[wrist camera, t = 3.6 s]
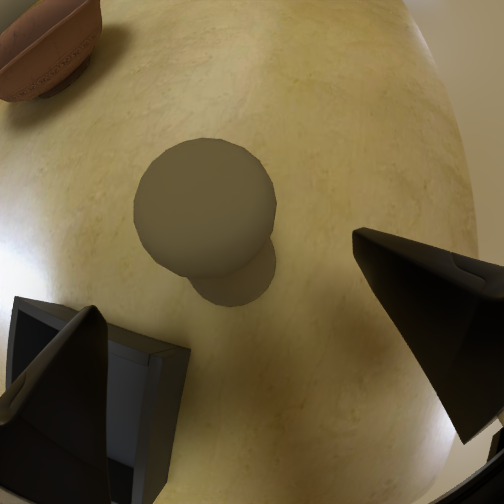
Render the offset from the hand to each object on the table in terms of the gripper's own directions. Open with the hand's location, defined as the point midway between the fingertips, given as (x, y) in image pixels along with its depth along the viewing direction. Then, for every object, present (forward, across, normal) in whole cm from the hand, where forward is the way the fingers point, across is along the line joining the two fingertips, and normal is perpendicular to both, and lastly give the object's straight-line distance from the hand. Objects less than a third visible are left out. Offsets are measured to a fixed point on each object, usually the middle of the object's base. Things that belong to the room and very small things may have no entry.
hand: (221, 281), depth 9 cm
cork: (+9, 0, +5) cm, 11 cm away
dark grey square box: (+4, +12, +10) cm, 16 cm away
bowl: (+31, +16, -17) cm, 39 cm away
